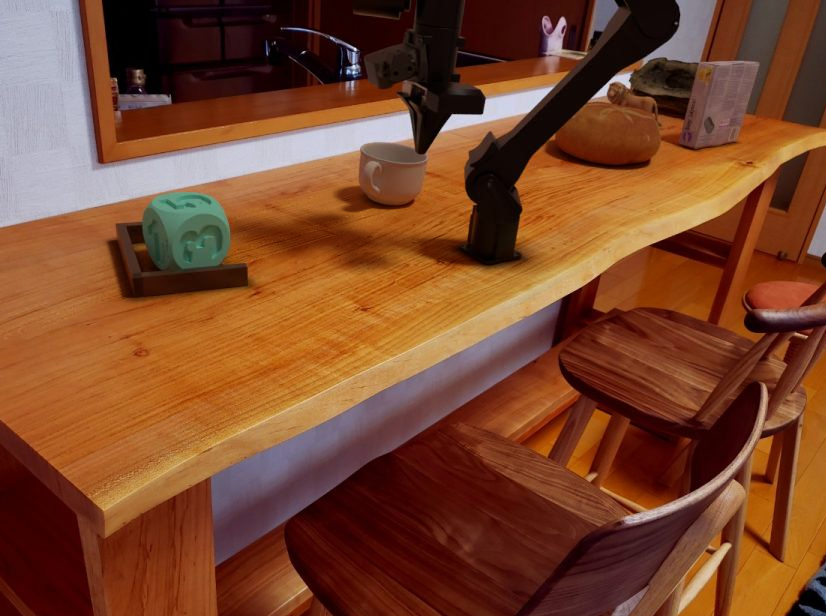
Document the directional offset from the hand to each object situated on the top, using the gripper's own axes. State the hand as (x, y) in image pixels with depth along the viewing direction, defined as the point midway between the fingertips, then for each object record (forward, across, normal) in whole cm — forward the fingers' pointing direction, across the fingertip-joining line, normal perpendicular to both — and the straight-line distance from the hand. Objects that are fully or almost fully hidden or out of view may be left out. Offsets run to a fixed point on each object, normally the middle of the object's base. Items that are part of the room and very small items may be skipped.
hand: (420, 153), depth 98 cm
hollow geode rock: (+11, -68, +109) cm, 129 cm away
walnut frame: (+14, -2, -30) cm, 34 cm away
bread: (+12, -36, +62) cm, 73 cm away
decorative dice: (+14, -1, -30) cm, 33 cm away
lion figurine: (+11, -60, +87) cm, 106 cm away
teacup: (+13, -18, +4) cm, 23 cm away
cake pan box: (+11, -41, +94) cm, 103 cm away
